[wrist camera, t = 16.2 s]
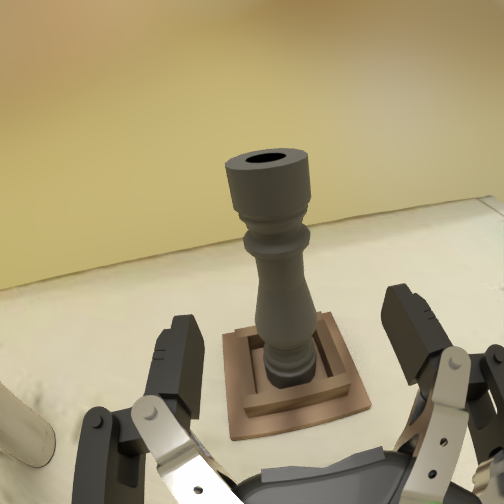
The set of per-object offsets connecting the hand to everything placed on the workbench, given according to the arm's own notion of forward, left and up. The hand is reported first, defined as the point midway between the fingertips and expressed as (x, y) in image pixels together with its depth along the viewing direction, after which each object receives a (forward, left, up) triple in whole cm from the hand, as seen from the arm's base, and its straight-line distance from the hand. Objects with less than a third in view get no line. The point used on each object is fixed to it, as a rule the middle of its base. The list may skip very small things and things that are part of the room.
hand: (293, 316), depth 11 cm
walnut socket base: (+1, +11, -22) cm, 25 cm away
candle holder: (+1, +11, -21) cm, 24 cm away
